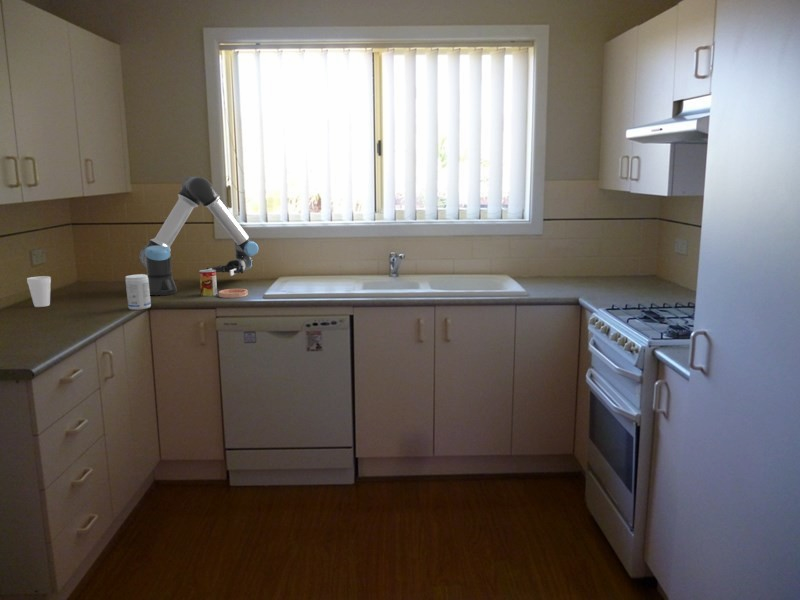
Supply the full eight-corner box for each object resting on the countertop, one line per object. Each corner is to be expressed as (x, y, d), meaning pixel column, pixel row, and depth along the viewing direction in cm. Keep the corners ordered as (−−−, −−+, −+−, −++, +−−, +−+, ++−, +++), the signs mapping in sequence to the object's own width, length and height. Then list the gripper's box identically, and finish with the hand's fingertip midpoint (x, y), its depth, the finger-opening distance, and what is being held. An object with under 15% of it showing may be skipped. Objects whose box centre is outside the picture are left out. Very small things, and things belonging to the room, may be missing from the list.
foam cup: (28, 305, 303) (25, 277, 300) (50, 302, 309) (47, 275, 306) (33, 308, 296) (29, 280, 293) (55, 305, 301) (52, 277, 299)
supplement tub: (147, 305, 301) (144, 273, 298) (154, 308, 293) (151, 275, 291) (125, 307, 295) (122, 275, 292) (132, 311, 287) (128, 278, 285)
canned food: (202, 293, 328) (201, 269, 326) (218, 292, 329) (217, 269, 327) (199, 296, 321) (197, 272, 318) (215, 295, 321) (214, 271, 319)
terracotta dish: (213, 297, 317) (213, 293, 317) (226, 292, 330) (226, 288, 330) (240, 298, 314) (240, 294, 314) (252, 292, 328) (252, 288, 327)
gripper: (257, 273, 352) (241, 280, 331) (214, 273, 356) (195, 280, 336) (257, 259, 350) (240, 265, 330) (213, 259, 355) (194, 265, 334)
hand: (217, 273), depth 333 cm, fingers open, 13 cm apart
